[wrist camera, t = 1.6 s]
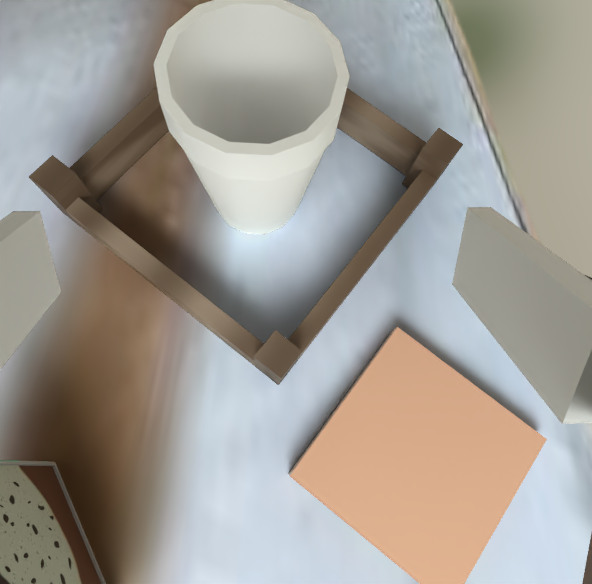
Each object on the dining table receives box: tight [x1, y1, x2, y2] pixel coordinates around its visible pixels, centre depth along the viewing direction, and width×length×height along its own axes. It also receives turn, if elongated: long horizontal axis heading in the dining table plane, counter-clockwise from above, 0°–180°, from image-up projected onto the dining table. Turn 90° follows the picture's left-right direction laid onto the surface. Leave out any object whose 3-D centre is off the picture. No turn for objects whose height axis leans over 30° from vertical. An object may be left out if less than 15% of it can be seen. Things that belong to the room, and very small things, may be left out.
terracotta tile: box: [289, 327, 547, 584], centre depth 30 cm, size 12×12×1 cm
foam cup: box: [154, 0, 350, 234], centre depth 29 cm, size 10×9×13 cm
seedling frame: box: [29, 88, 463, 385], centre depth 32 cm, size 20×20×5 cm
